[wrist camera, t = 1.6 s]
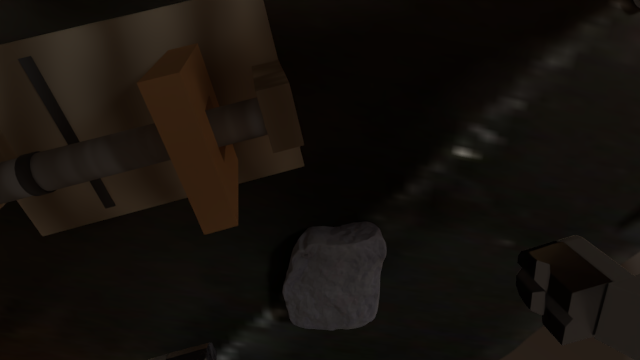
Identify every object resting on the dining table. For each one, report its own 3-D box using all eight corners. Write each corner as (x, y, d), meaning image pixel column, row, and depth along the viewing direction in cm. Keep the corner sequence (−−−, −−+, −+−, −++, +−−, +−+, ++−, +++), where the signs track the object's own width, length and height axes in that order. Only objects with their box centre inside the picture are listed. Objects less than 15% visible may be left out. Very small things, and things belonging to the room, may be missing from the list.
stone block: (285, 301, 44) (372, 304, 44) (281, 334, 40) (377, 337, 40) (285, 212, 39) (383, 215, 39) (280, 238, 34) (390, 243, 34)
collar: (197, 43, 25) (179, 72, 18) (238, 160, 30) (238, 225, 22) (167, 50, 25) (136, 82, 17) (213, 167, 30) (204, 234, 22)
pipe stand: (258, -16, 27) (266, -13, 19) (302, 158, 34) (320, 209, 26) (-65, 59, 25) (-191, 93, 18) (50, 225, 32) (-6, 299, 25)
